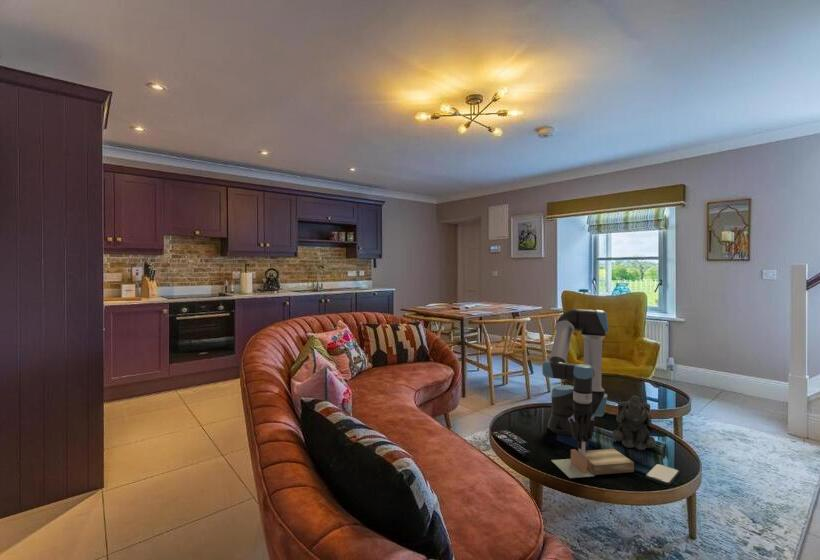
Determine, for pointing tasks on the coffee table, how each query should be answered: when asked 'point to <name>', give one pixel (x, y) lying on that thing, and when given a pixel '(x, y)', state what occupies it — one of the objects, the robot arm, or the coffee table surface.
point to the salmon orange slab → (579, 461)
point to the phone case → (662, 474)
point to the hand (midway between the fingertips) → (581, 455)
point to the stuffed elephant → (634, 424)
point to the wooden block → (608, 462)
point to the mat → (570, 469)
